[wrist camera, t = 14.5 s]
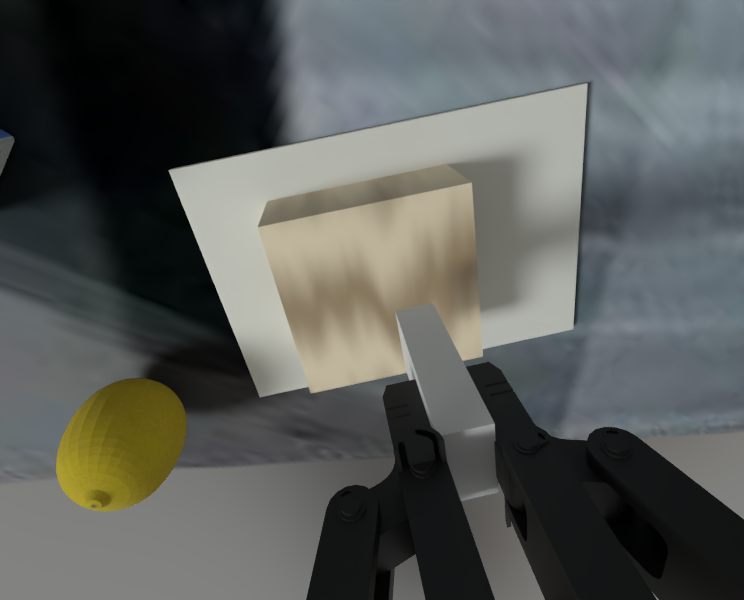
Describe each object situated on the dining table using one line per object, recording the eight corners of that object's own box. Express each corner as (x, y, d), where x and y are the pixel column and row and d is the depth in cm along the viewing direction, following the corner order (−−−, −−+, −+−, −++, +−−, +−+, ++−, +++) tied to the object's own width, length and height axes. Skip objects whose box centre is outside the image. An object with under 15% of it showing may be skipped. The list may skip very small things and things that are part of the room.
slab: (482, 356, 22) (310, 393, 22) (459, 317, 26) (311, 348, 25) (472, 182, 18) (257, 227, 18) (446, 164, 21) (267, 201, 21)
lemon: (112, 423, 27) (39, 548, 20) (94, 349, 24) (4, 463, 17) (204, 423, 28) (166, 542, 21) (197, 351, 25) (151, 460, 18)
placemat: (582, 83, 21) (587, 83, 20) (569, 325, 27) (573, 329, 27) (171, 168, 20) (168, 170, 20) (260, 393, 27) (259, 397, 27)
